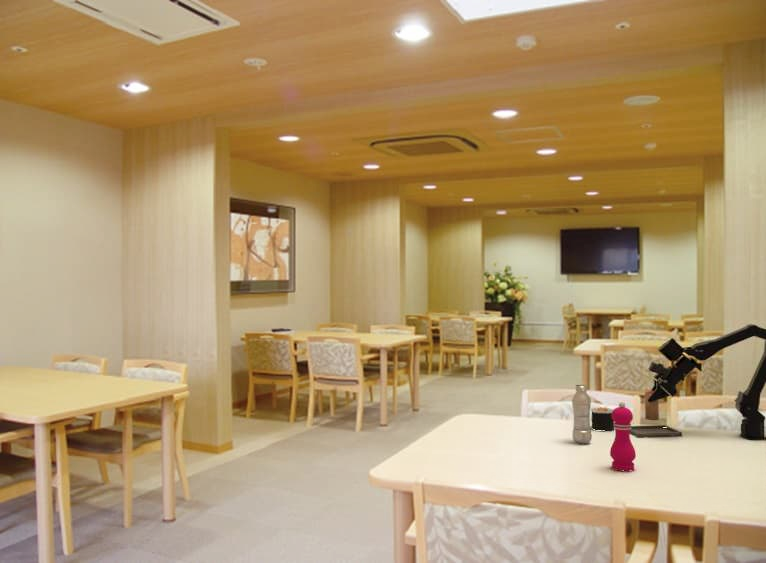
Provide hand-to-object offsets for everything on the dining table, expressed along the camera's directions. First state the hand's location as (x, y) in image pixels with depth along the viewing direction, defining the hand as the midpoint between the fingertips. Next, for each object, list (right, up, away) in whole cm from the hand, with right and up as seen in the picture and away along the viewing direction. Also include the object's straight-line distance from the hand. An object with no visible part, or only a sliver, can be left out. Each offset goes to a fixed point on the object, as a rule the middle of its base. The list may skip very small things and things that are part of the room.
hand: (647, 400), depth 240 cm
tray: (+2, -12, 0) cm, 12 cm away
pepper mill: (-25, -13, -43) cm, 52 cm away
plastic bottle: (-28, -13, -12) cm, 33 cm away
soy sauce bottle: (+1, -7, 0) cm, 7 cm away
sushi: (-14, -12, +7) cm, 20 cm away
